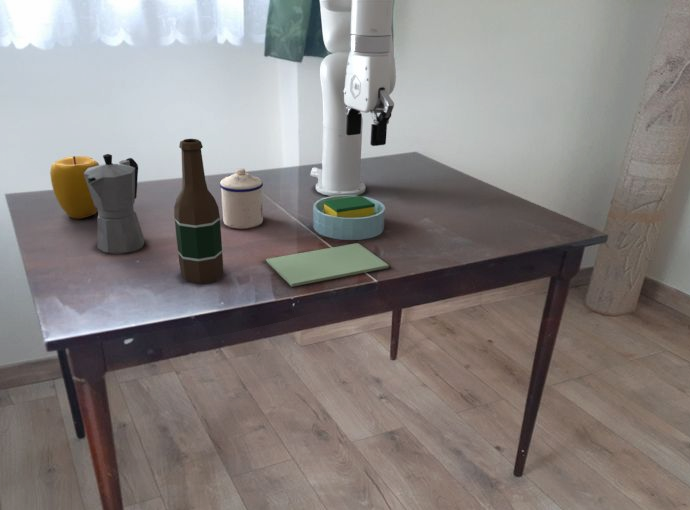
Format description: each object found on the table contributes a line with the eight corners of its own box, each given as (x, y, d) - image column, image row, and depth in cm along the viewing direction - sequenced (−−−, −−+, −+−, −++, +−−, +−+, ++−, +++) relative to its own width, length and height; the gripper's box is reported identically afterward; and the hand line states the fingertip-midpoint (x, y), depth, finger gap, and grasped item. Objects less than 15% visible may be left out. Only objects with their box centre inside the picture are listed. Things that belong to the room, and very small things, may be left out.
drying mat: (291, 286, 112) (291, 283, 111) (266, 261, 121) (266, 258, 120) (388, 268, 119) (388, 265, 119) (357, 245, 128) (358, 242, 128)
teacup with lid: (271, 224, 138) (270, 171, 132) (234, 232, 133) (231, 178, 127) (244, 209, 146) (242, 158, 140) (209, 216, 142) (205, 164, 135)
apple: (111, 220, 138) (101, 161, 131) (58, 225, 135) (46, 165, 128) (107, 204, 147) (98, 148, 140) (58, 209, 144) (46, 152, 137)
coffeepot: (123, 261, 120) (108, 165, 110) (81, 254, 122) (62, 160, 113) (164, 233, 132) (154, 145, 123) (125, 227, 135) (112, 141, 125)
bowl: (299, 231, 135) (299, 208, 132) (337, 212, 145) (338, 190, 143) (360, 247, 128) (361, 224, 125) (396, 226, 138) (397, 204, 136)
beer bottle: (182, 266, 118) (169, 134, 105) (224, 266, 119) (216, 134, 106) (178, 285, 111) (162, 146, 99) (222, 284, 112) (213, 146, 100)
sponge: (336, 234, 132) (337, 209, 129) (323, 225, 137) (324, 200, 134) (373, 228, 136) (374, 203, 133) (359, 219, 140) (361, 195, 137)
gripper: (330, 41, 123) (328, 132, 132) (377, 51, 110) (371, 151, 119) (364, 40, 126) (360, 129, 135) (413, 49, 113) (404, 147, 122)
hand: (365, 139), depth 127 cm, fingers open, 9 cm apart
